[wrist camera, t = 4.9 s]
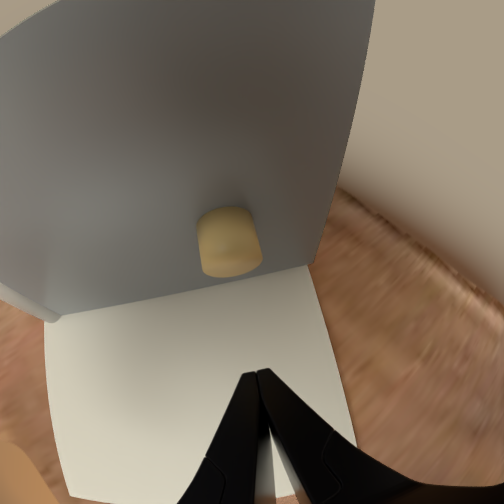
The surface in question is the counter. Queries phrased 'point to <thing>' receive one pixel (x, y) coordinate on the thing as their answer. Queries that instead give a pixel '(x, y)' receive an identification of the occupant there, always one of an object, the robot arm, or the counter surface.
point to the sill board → (179, 381)
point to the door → (169, 144)
